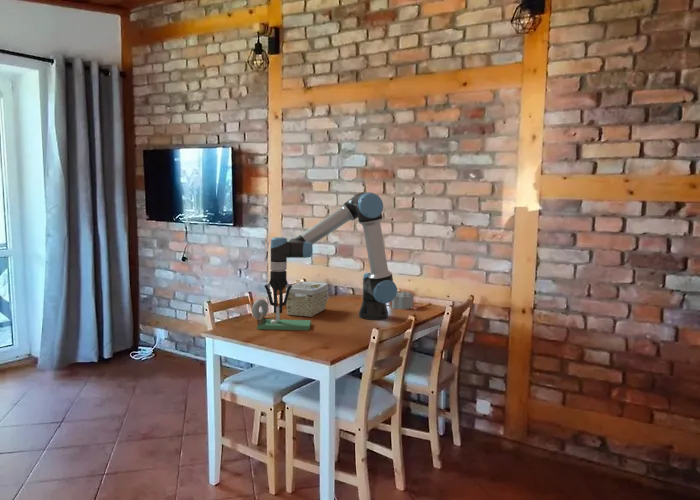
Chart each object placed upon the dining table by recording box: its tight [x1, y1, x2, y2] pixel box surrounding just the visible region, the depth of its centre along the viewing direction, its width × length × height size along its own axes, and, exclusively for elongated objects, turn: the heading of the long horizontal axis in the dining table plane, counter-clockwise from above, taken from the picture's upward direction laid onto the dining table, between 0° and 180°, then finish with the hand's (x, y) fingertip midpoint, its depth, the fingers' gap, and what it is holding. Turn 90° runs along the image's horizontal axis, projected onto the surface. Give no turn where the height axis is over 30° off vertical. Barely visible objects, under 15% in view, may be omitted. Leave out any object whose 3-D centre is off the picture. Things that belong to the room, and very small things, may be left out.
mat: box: [256, 318, 312, 331], centre depth 272 cm, size 24×12×2 cm, turn 90°
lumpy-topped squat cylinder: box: [391, 290, 414, 310], centre depth 323 cm, size 10×13×9 cm
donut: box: [251, 298, 269, 320], centre depth 286 cm, size 10×3×10 cm, turn 144°
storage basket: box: [285, 281, 329, 318], centre depth 304 cm, size 24×16×15 cm
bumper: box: [256, 314, 266, 326], centre depth 271 cm, size 2×12×2 cm, turn 0°
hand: (277, 319), depth 271 cm, fingers closed
